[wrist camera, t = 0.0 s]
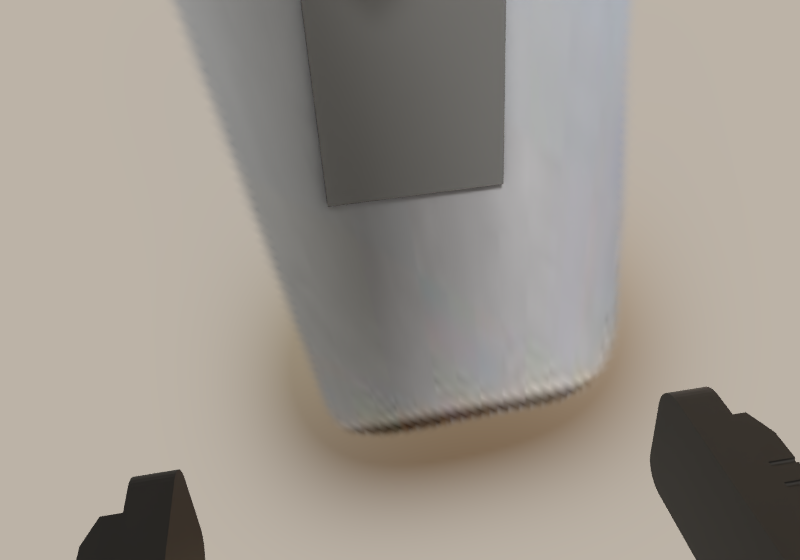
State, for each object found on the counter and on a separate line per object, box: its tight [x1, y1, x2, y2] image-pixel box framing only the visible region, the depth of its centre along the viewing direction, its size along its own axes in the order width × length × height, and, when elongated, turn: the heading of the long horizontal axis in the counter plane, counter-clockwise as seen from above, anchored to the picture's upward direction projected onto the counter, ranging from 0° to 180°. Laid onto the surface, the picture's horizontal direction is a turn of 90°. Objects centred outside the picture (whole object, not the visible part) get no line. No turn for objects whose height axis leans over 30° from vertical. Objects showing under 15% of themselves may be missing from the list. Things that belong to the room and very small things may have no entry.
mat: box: [301, 0, 506, 207], centre depth 37 cm, size 20×10×1 cm, turn 4°
